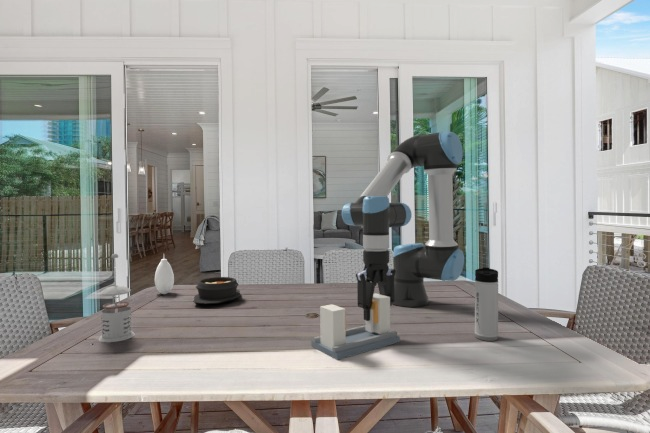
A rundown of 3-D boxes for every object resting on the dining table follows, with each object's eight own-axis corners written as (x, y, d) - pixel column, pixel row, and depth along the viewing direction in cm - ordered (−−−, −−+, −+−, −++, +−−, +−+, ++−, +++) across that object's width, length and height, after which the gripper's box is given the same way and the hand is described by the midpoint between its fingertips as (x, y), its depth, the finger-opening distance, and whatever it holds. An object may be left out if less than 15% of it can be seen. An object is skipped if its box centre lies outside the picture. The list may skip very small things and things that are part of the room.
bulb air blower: (167, 290, 181) (166, 251, 181) (177, 293, 177) (176, 252, 176) (151, 294, 175) (150, 253, 174) (161, 296, 170) (160, 254, 170)
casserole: (227, 309, 149) (226, 287, 149) (181, 307, 152) (180, 285, 152) (249, 294, 174) (249, 275, 174) (209, 293, 177) (209, 274, 176)
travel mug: (496, 334, 117) (497, 267, 117) (498, 342, 111) (499, 271, 110) (474, 332, 119) (474, 266, 119) (475, 340, 113) (475, 270, 112)
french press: (97, 344, 112) (94, 256, 112) (99, 332, 123) (96, 252, 122) (135, 338, 117) (133, 254, 116) (134, 327, 127) (132, 250, 126)
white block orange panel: (390, 331, 114) (390, 296, 113) (377, 334, 111) (377, 299, 111) (376, 326, 119) (375, 293, 118) (363, 329, 116) (363, 295, 116)
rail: (311, 346, 109) (311, 304, 109) (371, 330, 122) (371, 293, 122) (337, 359, 100) (336, 314, 99) (399, 341, 112) (399, 301, 112)
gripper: (389, 246, 122) (389, 320, 123) (343, 250, 112) (344, 331, 113) (407, 248, 116) (407, 326, 117) (360, 253, 106) (361, 339, 107)
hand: (376, 329), depth 115 cm, fingers closed on white block orange panel, 5 cm apart
